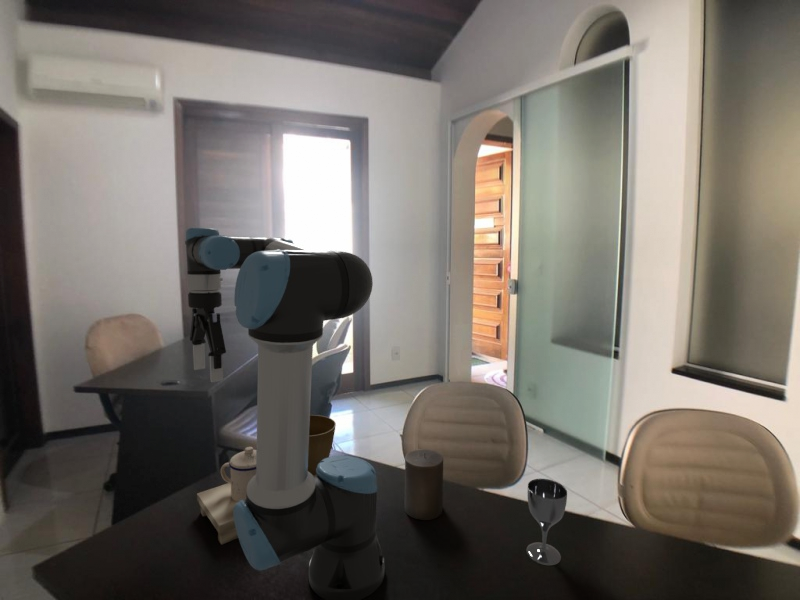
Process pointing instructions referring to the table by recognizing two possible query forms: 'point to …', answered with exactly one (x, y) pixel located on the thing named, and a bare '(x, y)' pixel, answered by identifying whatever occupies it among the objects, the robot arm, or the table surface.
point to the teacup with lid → (240, 472)
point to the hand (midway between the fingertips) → (207, 374)
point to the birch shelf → (219, 511)
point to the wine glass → (545, 516)
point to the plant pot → (319, 440)
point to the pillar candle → (423, 484)
